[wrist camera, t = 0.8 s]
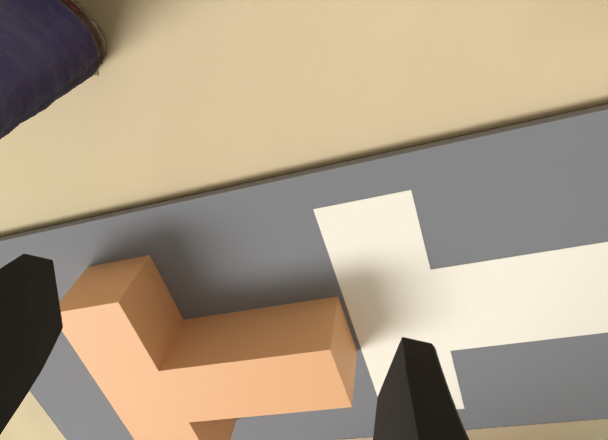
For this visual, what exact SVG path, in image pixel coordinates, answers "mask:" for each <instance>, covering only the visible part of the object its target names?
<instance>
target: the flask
mask: <svg viewBox="0 0 608 440" xmlns="http://www.w3.org/2000/svg"><path fill="white" fill-rule="evenodd" d="M105 55H106V50H105V38H104V36H103V35H102V34H101V32H100V30H99V28H98V26H97V25H96V23H95V21H94V20H92V19H91V18H89V17H88V15H87V14H86V13H85V11H84V10H83V9H82V8H81V7H80V6H79V5H78V4H77V3H76V2H75V1H74V0H0V139H1V138H3V137H4V136H6V135H7V134H9V133H10V132H11V131H12V130H13V129H14V128H16V127H17V126H18V125H19V124H20V123H22V122H24V121H26V120H28V119H29V118H31V117H33V116H35V115H36V114H37V113H39V112H41V111H43V110H44V109H46V108H47V107H48V106H49V105H51V104H52V103H53V102H54V101H55V100H56V99H58V98H60V97H62V96H63V95H65V94H66V93H68V92H69V91H71V90H72V89H73V88H75V87H76V86H78V85H79V84H81V83H83V82H84V81H85V80H86V79H88V78H90V77H92V76H93V75H98V68H99V66H100V65H101V64H102V63H103V59H104V57H105Z"/></svg>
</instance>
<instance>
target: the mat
mask: <svg viewBox="0 0 608 440" xmlns="http://www.w3.org/2000/svg"><path fill="white" fill-rule="evenodd" d="M22 254H29V255H33V256H38V257H42V258H47V259H51V260H53V264H54V271H55V277H56V284H57V290H58V297H59V302H60V301H61V300H62V298H63V297H64V296H65V295H66V293H67V292H68V291H69V290H70V288H71V287H72V286H73V285H74V283H75V282H76V281H77V279H78V278H79V277H80V276H81V274H82V273H83V272H84V271H85V269H86V268H87V267H89V266H94V265H99V264H104V263H110V262H115V261H120V260H125V259H131V258H136V257H141V256H146V255H150V257H151V259H152V260H153V262H154V264H155V266H156V268H157V270H158V272H159V274H160V276H161V278H162V280H163V281H164V283H165V285H166V287H167V289H168V291H169V293H170V295H171V297H172V299H173V300H174V302H175V304H176V306H177V308H178V310H179V312H180V314H181V316H182V318H183V319H184V320H185V319H192V318H199V317H205V316H212V315H218V314H225V313H232V312H238V311H245V310H251V309H258V308H265V307H271V306H278V305H284V304H291V303H298V302H304V301H311V300H317V299H324V298H331V297H337V296H338V297H339V300H340V303H341V306H342V309H343V312H344V314H345V317H346V320H347V323H348V326H349V329H350V332H351V335H352V337H353V340H354V343H355V346H356V349H357V358H356V369H355V380H354V390H353V401H352V407H348V408H338V409H327V410H316V411H306V412H295V413H284V414H274V415H263V416H253V417H242V418H236V423H235V426H234V430H233V433H232V436H231V440H341V439H354V438H367V437H373V435H374V425H375V415H376V406H377V397H378V395H379V392H380V390H381V387H382V385H383V382H384V380H385V378H386V375H387V373H388V370H389V368H390V365H391V363H392V360H393V358H394V355H395V353H396V351H397V348H398V346H399V343H400V341H401V338H402V337H405V338H409V339H414V340H419V341H423V342H428V343H432V344H433V346H434V347H435V349H436V352H437V355H438V358H439V361H440V364H441V367H442V371H443V373H444V376H445V379H446V382H447V385H448V388H449V391H450V393H451V396H452V399H453V401H454V404H455V407H456V409H457V412H458V414H459V417H460V419H461V422H462V424H463V427H464V429H465V430H469V429H482V428H495V427H508V426H520V425H533V424H546V423H559V422H572V421H584V420H597V419H608V104H605V105H601V106H596V107H592V108H587V109H582V110H578V111H573V112H569V113H564V114H560V115H555V116H551V117H546V118H541V119H537V120H532V121H528V122H523V123H519V124H514V125H510V126H505V127H500V128H496V129H491V130H487V131H482V132H478V133H473V134H469V135H464V136H459V137H455V138H450V139H446V140H441V141H437V142H432V143H428V144H423V145H418V146H414V147H409V148H405V149H400V150H396V151H391V152H386V153H382V154H377V155H373V156H368V157H364V158H359V159H355V160H350V161H345V162H341V163H336V164H332V165H327V166H323V167H318V168H314V169H309V170H304V171H300V172H295V173H291V174H286V175H282V176H277V177H273V178H268V179H263V180H259V181H254V182H250V183H245V184H241V185H236V186H232V187H227V188H222V189H218V190H213V191H209V192H204V193H200V194H195V195H191V196H186V197H181V198H177V199H172V200H168V201H163V202H159V203H154V204H150V205H145V206H140V207H136V208H131V209H127V210H122V211H118V212H113V213H109V214H104V215H99V216H95V217H90V218H86V219H81V220H77V221H72V222H67V223H63V224H58V225H54V226H49V227H45V228H40V229H36V230H31V231H26V232H22V233H17V234H13V235H8V236H4V237H0V268H2V267H3V266H5V265H6V264H8V263H10V262H11V261H13V260H14V259H16V258H18V257H19V256H21V255H22ZM30 392H31V393H32V394H33V396H34V397H35V398H36V400H37V401H38V402H39V404H40V405H41V406H42V408H43V409H44V410H45V412H46V413H47V414H48V416H49V417H50V418H51V420H52V421H53V422H54V424H55V425H56V426H57V428H58V429H59V430H60V431H61V433H62V434H63V435H64V437H65V438H66V439H67V440H134V438H133V437H132V435H131V434H130V432H129V431H128V429H127V428H126V426H125V425H124V423H123V422H122V420H121V419H120V417H119V416H118V414H117V413H116V411H115V410H114V408H113V407H112V405H111V404H110V402H109V401H108V399H107V398H106V396H105V395H104V393H103V392H102V390H101V389H100V387H99V386H98V384H97V383H96V381H95V380H94V378H93V377H92V375H91V374H90V372H89V371H88V369H87V368H86V366H85V365H84V363H83V362H82V360H81V359H80V357H79V356H78V354H77V353H76V351H75V350H74V348H73V347H72V345H71V344H70V342H69V341H68V339H67V338H66V336H65V335H64V333H63V332H62V331H61V333H60V335H59V337H58V339H57V341H56V343H55V345H54V347H53V349H52V352H51V354H50V355H49V357H48V359H47V361H46V363H45V365H44V367H43V369H42V371H41V373H40V374H39V376H38V378H37V379H36V381H35V382H34V384H33V385H32V387H31V388H30Z"/></svg>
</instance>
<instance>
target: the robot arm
mask: <svg viewBox="0 0 608 440" xmlns="http://www.w3.org/2000/svg"><path fill="white" fill-rule="evenodd" d="M62 328H63V324H62V317H61V310H60V304H59V297H58V290H57V284H56V277H55V271H54V264H53V260H51V259H47V258H42V257H38V256H33V255H29V254H22V255H21V256H19V257H18V258H16V259H14V260H13V261H11V262H10V263H8V264H6V265H5V266H3V267H2V268H0V434H1V433H2V431H3V429H4V428H5V426H6V425H7V423H8V422H9V420H10V419H11V417H12V416H13V414H14V413H15V411H16V410H17V408H18V407H19V405H20V404H21V402H22V401H23V399H24V398H25V396H26V395H27V393H28V392H29V390H30V388H31V387H32V385H33V384H34V382H35V381H36V379H37V378H38V376H39V374H40V373H41V371H42V369H43V367H44V365H45V363H46V361H47V359H48V357H49V355H50V354H51V352H52V349H53V347H54V345H55V343H56V341H57V339H58V337H59V335H60V333H61V331H62ZM373 440H469V438H468V436H467V434H466V431H465V429H464V427H463V424H462V422H461V419H460V417H459V414H458V412H457V409H456V407H455V404H454V401H453V399H452V396H451V393H450V391H449V388H448V385H447V382H446V379H445V376H444V373H443V371H442V367H441V364H440V361H439V358H438V355H437V352H436V349H435V347H434V346H433V344H432V343H428V342H423V341H419V340H414V339H409V338H405V337H402V338H401V341H400V343H399V346H398V348H397V351H396V353H395V355H394V358H393V360H392V363H391V365H390V368H389V370H388V373H387V375H386V378H385V380H384V382H383V385H382V387H381V390H380V392H379V395H378V397H377V406H376V415H375V425H374V435H373Z"/></svg>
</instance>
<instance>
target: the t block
mask: <svg viewBox="0 0 608 440" xmlns="http://www.w3.org/2000/svg"><path fill="white" fill-rule="evenodd" d="M59 304H60V310H61V317H62V324H63V328H62V332H63V333H64V335H65V336H66V338H67V339H68V341H69V342H70V344H71V345H72V347H73V348H74V350H75V351H76V353H77V354H78V356H79V357H80V359H81V360H82V362H83V363H84V365H85V366H86V368H87V369H88V371H89V372H90V374H91V375H92V377H93V378H94V380H95V381H96V383H97V384H98V386H99V387H100V389H101V390H102V392H103V393H104V395H105V396H106V398H107V399H108V401H109V402H110V404H111V405H112V407H113V408H114V410H115V411H116V413H117V414H118V416H119V417H120V419H121V420H122V422H123V423H124V425H125V426H126V428H127V429H128V431H129V432H130V434H131V435H132V437H133V438H134V440H231V436H232V433H233V430H234V426H235V423H236V418H242V417H253V416H263V415H274V414H284V413H295V412H306V411H316V410H327V409H338V408H348V407H352V401H353V390H354V380H355V369H356V358H357V349H356V346H355V343H354V340H353V337H352V335H351V332H350V329H349V326H348V323H347V320H346V317H345V314H344V312H343V309H342V306H341V303H340V300H339V297H338V296H337V297H331V298H324V299H317V300H311V301H304V302H298V303H291V304H284V305H278V306H271V307H265V308H258V309H251V310H245V311H238V312H232V313H225V314H218V315H212V316H205V317H199V318H192V319H185V320H184V319H183V318H182V316H181V314H180V312H179V310H178V308H177V306H176V304H175V302H174V300H173V299H172V297H171V295H170V293H169V291H168V289H167V287H166V285H165V283H164V281H163V280H162V278H161V276H160V274H159V272H158V270H157V268H156V266H155V264H154V262H153V260H152V259H151V257H150V255H146V256H141V257H136V258H131V259H125V260H120V261H115V262H110V263H104V264H99V265H94V266H89V267H87V268H86V269H85V271H84V272H83V273H82V274H81V276H80V277H79V278H78V279H77V281H76V282H75V283H74V285H73V286H72V287H71V288H70V290H69V291H68V292H67V293H66V295H65V296H64V297H63V298H62V300H61V301H60V302H59Z"/></svg>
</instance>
